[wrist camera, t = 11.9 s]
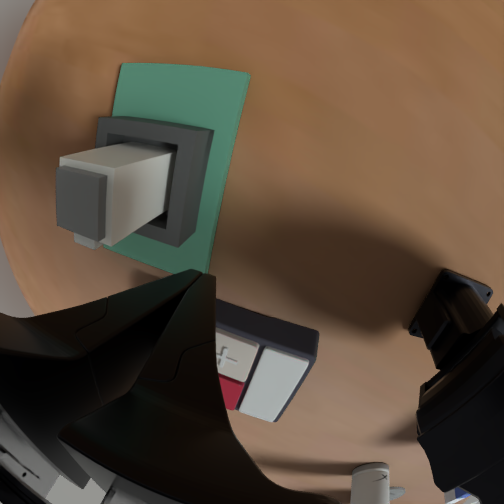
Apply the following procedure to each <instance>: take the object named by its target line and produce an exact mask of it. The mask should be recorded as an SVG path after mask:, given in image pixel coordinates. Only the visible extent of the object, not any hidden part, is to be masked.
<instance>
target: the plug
mask: <svg viewBox="0 0 504 504" xmlns="http://www.w3.org/2000/svg"><path fill="white" fill-rule="evenodd" d="M176 156H177V150H174V149H169V148H163V147H158V146H153V145H148V144H142V143H136V142H128V143H122V144H116V145H111V146H106V147H101V148H96V149H92V150H87V151H83V152H78V153H74V154H70V155H66V156H62V157H60V166H59V167H57V168H56V214H57V226H60V227H62V228H65V229H67V230H69V231H72V232H74V242H76V243H79V244H81V245H84V246H86V247H88V248H91V249H93V250H95V249H97V248H98V247H100V246H101V245H103V244H106V245H108V246H111V247H112V246H113V245H115V244H116V243H118V242H119V241H120V240H122V239H123V238H125V237H126V236H128V235H129V234H131V233H132V232H134V231H135V230H137V229H138V228H140V227H141V226H143V225H144V224H146V223H148V222H149V221H151V220H152V219H154V218H155V217H157V216H158V215H160V214H162V213H163V212H165V211H166V210H168V209H169V202H170V194H171V187H172V181H173V174H174V168H175V162H176Z"/></svg>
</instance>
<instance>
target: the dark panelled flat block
mask: <svg viewBox="0 0 504 504" xmlns="http://www.w3.org/2000/svg"><path fill="white" fill-rule="evenodd" d="M318 342H319V332H318V331H316V330H313V329H310V328H307V327H303V326H300V325H297V324H293V323H290V322H287V321H283V320H280V319H277V318H268V317H265V316H263V315H260V314H257V313H254V312H251V311H249V310H246V309H243V308H240V307H238V306H235V305H232V304H230V303H227V302H224V301H222V300H219V299H216V357H217V368H218V374H219V380H220V384H221V389H222V393H223V398H224V402H225V406H226V408H227V409H229V410H234V409H235V410H238V411H240V412H242V413H245V414H248V415H251V416H253V417H256V418H260V419H263V420H266V421H269V422H277V421H278V420H279V418H280V417H281V415H282V414H283V412H284V411H285V409H286V408H287V406H288V405H289V403H290V402H291V400H292V399H293V397H294V396H295V394H296V392H297V391H298V389H299V388H300V386H301V384H302V383H303V381H304V380H305V378H306V376H307V375H308V373H309V371H310V370H311V368H312V366H313V365H314V363H315V361H316V357H317V350H318Z"/></svg>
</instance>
